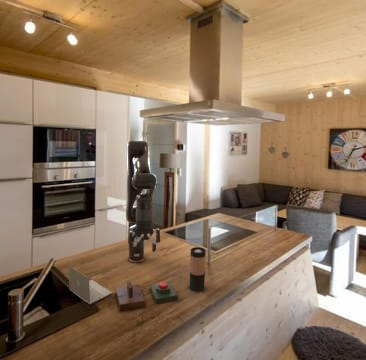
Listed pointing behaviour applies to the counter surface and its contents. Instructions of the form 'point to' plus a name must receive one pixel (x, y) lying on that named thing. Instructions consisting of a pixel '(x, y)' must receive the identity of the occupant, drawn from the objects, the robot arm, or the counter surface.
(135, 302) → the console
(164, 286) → the red button
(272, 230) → the counter surface
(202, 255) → the travel mug
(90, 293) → the laptop
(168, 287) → the button block
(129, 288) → the grip knob
